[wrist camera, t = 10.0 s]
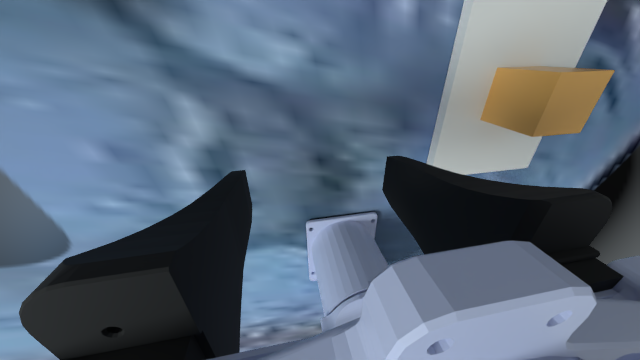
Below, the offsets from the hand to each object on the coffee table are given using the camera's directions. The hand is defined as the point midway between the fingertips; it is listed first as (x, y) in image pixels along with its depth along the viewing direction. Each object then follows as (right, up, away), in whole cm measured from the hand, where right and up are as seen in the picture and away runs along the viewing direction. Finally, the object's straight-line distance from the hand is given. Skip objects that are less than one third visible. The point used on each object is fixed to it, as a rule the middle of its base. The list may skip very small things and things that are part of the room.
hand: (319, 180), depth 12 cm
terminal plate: (+17, +8, +10) cm, 21 cm away
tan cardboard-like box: (+17, +8, +9) cm, 21 cm away
